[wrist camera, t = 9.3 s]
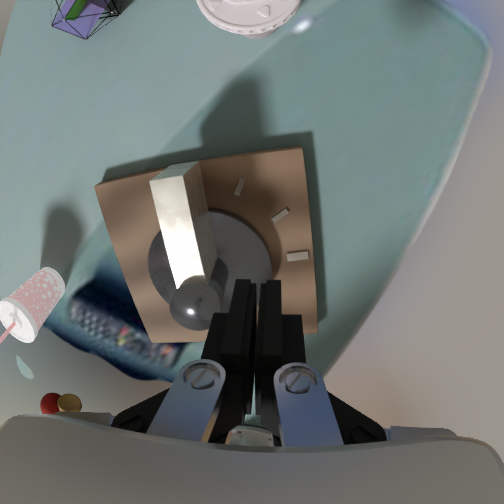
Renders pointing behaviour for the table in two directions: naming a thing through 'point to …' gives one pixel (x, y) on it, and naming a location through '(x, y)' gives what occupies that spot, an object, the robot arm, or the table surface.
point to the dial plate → (230, 199)
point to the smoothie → (249, 15)
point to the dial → (200, 249)
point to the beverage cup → (31, 304)
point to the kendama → (60, 403)
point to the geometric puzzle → (81, 16)
